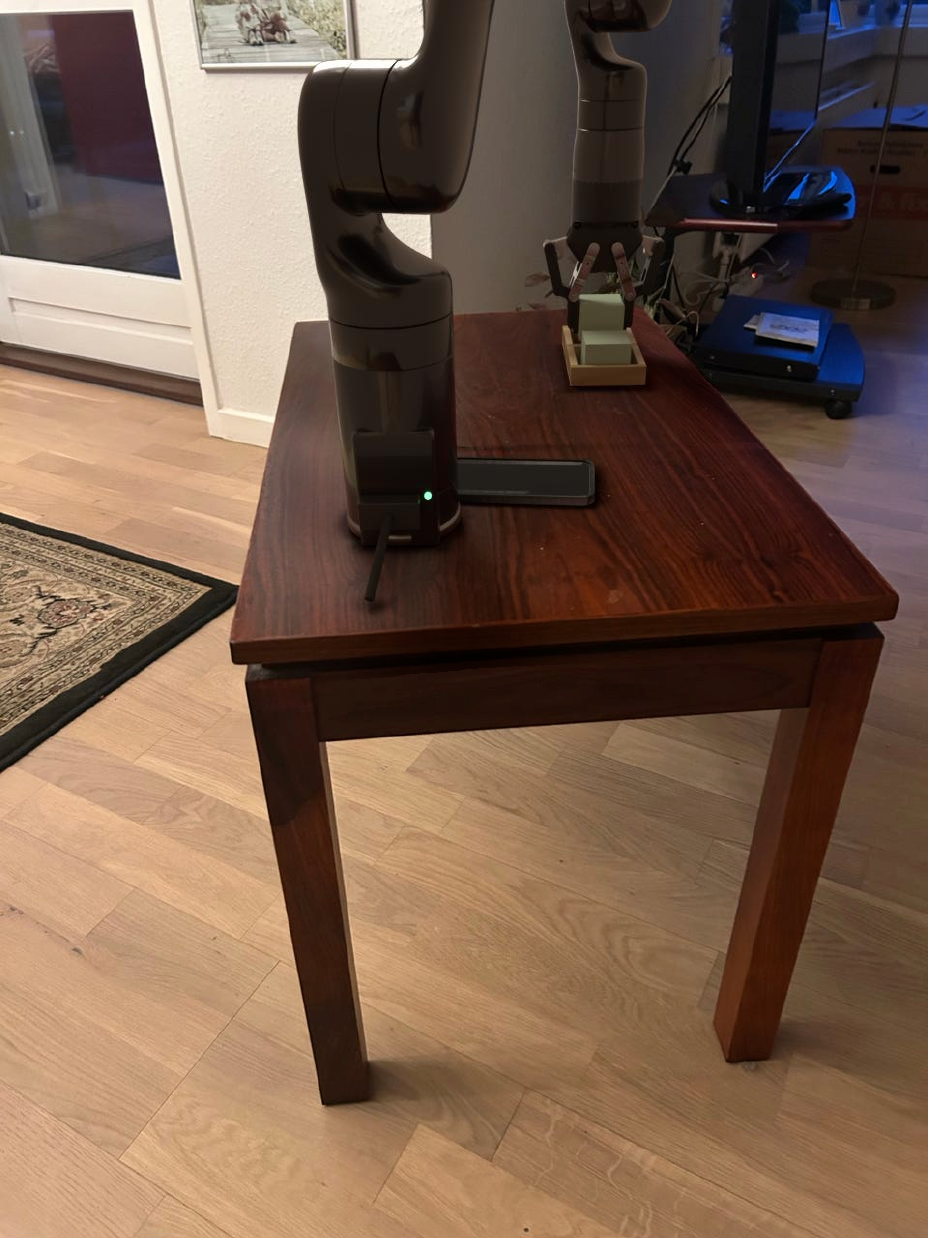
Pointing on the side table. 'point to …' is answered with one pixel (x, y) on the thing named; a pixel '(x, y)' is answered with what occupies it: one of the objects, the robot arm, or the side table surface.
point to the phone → (526, 481)
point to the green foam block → (605, 347)
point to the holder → (601, 373)
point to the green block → (600, 313)
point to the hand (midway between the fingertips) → (599, 330)
